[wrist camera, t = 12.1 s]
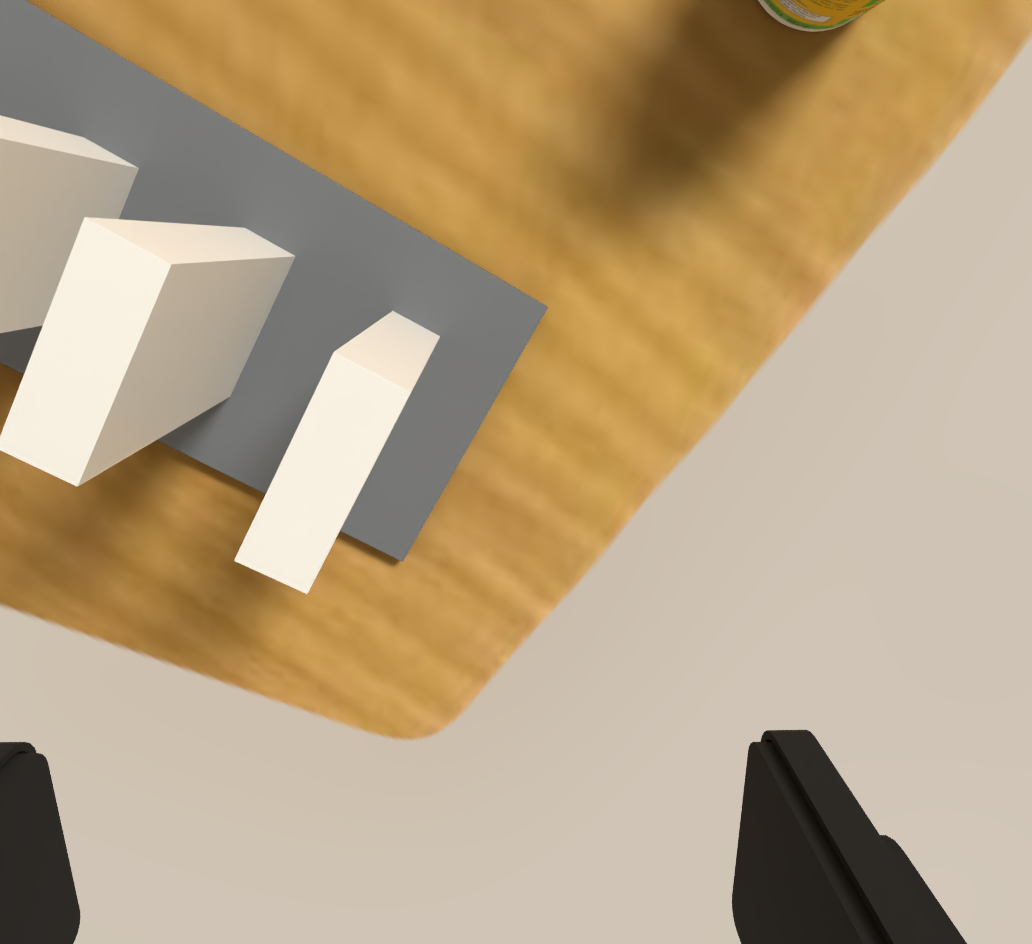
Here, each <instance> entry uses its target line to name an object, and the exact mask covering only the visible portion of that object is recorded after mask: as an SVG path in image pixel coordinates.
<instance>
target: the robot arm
mask: <svg viewBox="0 0 1032 944" xmlns="http://www.w3.org/2000/svg"><path fill="white" fill-rule="evenodd" d="M732 909H733V917H734V922H735V926H736V929H737V933H738V936H739V938H740V941H741V944H967V943H966V942H965V940H964V939H963V937H962V936H961V935H960V933H959V931H958V930H957V929H956V927H955V926H954V924H953V923H952V921H951V920H950V918H949V917H948V915H947V914H946V912H945V911H944V909H943V908H942V907H941V905H940V904H939V902H938V901H937V899H936V898H935V896H934V895H933V893H932V892H931V890H930V889H929V888H928V886H927V885H926V884H925V882H924V880H923V879H922V877H921V876H920V874H919V873H918V871H917V870H916V868H915V867H914V866H913V864H912V863H911V861H910V860H909V858H908V857H907V855H906V854H905V853H904V851H903V850H902V849H901V847H900V846H899V845H898V844H897V843H896V841H894V840H893V839H891V838H890V837H888V836H886V835H879V834H878V832H877V830H876V829H875V827H874V826H873V824H872V823H871V821H870V820H869V818H868V817H867V815H866V814H865V812H864V811H863V809H862V808H861V806H860V805H859V803H858V801H857V800H856V798H855V797H854V796H853V794H852V792H851V791H850V790H849V788H848V787H847V785H846V784H845V782H844V780H843V779H842V777H841V776H840V774H839V773H838V771H837V770H836V768H835V767H834V765H833V764H832V762H831V761H830V759H829V758H828V756H827V755H826V753H825V751H824V750H823V748H822V747H821V745H820V744H819V742H818V741H817V739H816V738H815V737H814V735H813V734H812V733H811V732H810V731H808V730H774V731H773V730H771V731H770V730H769V731H765V732H764V733H763V735H762V739H761V742H752V743H751V744H750V746H749V750H748V758H747V767H746V776H745V785H744V794H743V804H742V812H741V821H740V830H739V840H738V849H737V858H736V867H735V876H734V885H733V894H732ZM79 924H80V909H79V904H78V900H77V895H76V891H75V886H74V882H73V877H72V872H71V867H70V863H69V858H68V853H67V849H66V844H65V840H64V835H63V831H62V826H61V822H60V817H59V812H58V807H57V803H56V798H55V794H54V789H53V784H52V780H51V775H50V771H49V766H48V762H47V760H46V757H44V756H43V755H42V754H39V753H36V750H35V748H34V747H33V746H32V745H31V744H30V743H26V742H0V944H73V943H74V941H75V938H76V935H77V933H78V928H79Z"/></svg>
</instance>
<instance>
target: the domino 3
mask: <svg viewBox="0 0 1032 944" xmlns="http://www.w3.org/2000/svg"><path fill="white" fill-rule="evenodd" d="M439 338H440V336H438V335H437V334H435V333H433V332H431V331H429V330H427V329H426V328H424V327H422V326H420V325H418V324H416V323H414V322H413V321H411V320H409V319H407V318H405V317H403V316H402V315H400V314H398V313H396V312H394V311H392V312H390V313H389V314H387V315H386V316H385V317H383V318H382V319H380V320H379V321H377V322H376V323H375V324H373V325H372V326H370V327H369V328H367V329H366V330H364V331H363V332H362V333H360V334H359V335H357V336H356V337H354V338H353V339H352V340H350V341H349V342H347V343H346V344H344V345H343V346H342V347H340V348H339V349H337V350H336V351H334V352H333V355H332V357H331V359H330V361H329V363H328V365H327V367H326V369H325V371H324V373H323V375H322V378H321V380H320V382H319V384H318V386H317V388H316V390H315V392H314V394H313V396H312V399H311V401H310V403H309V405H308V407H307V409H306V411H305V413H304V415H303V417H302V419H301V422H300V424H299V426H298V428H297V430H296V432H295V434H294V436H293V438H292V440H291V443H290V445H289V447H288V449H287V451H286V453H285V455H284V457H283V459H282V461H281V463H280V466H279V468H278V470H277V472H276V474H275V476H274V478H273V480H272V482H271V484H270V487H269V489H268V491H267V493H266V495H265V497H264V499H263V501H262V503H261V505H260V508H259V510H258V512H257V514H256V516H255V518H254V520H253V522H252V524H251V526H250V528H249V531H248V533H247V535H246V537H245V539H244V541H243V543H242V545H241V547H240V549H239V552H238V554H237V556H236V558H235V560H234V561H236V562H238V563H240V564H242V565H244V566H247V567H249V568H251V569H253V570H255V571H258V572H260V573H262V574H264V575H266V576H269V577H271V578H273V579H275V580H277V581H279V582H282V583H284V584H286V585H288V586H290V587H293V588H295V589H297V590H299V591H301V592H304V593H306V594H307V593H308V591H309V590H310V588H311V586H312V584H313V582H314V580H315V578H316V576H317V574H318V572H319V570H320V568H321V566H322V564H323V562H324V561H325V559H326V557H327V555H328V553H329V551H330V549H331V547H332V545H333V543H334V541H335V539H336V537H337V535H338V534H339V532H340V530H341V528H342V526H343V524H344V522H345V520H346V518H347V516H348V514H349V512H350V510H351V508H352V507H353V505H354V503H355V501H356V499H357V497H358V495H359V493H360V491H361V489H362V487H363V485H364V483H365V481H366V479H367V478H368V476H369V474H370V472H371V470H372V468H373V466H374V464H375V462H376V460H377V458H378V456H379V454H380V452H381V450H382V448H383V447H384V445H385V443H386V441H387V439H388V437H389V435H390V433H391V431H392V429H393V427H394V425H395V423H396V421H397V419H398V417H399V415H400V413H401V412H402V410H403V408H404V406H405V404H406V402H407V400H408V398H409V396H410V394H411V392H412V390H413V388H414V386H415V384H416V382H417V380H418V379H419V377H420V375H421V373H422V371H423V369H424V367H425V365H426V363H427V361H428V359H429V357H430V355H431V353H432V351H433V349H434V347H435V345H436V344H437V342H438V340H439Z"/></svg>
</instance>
